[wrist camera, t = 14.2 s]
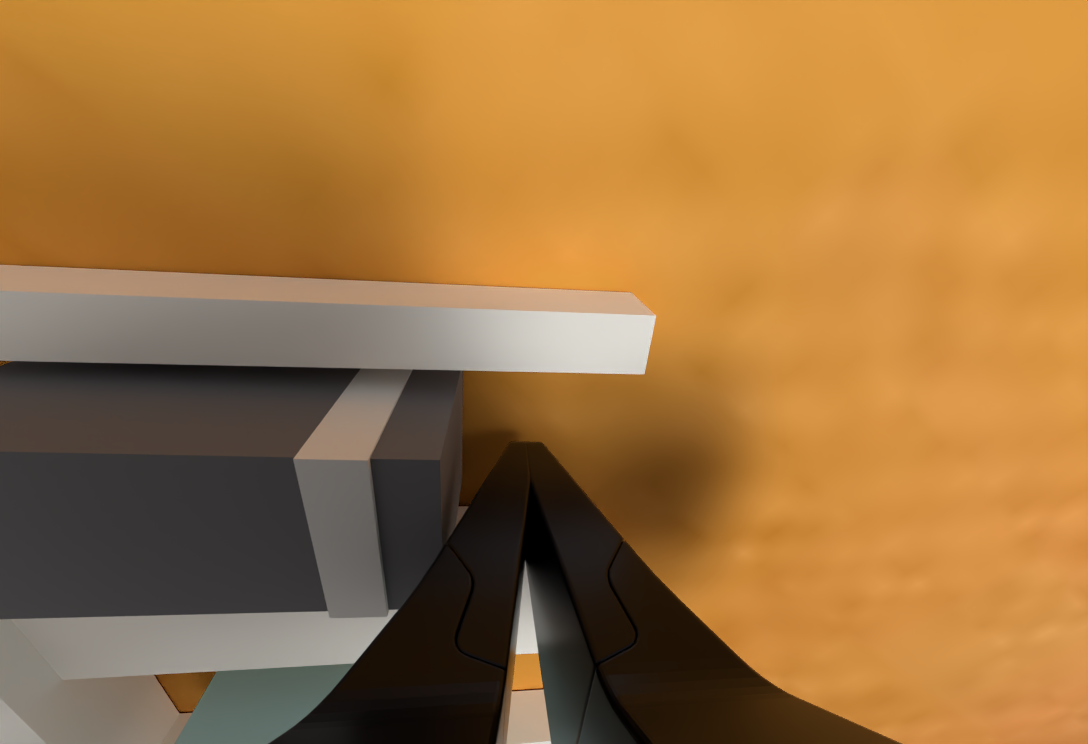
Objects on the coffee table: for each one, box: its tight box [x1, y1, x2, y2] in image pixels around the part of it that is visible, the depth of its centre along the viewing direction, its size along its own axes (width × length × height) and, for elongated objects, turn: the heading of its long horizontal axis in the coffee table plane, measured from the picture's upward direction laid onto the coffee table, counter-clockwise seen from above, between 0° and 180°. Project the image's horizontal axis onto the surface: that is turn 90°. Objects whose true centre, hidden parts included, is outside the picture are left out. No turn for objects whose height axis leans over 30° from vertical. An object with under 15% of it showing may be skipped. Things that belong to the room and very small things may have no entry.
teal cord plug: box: [174, 663, 354, 744], centre depth 12 cm, size 4×8×4 cm, turn 85°
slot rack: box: [0, 265, 656, 744], centre depth 10 cm, size 17×15×3 cm
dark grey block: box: [0, 361, 463, 619], centre depth 8 cm, size 4×8×4 cm, turn 85°
